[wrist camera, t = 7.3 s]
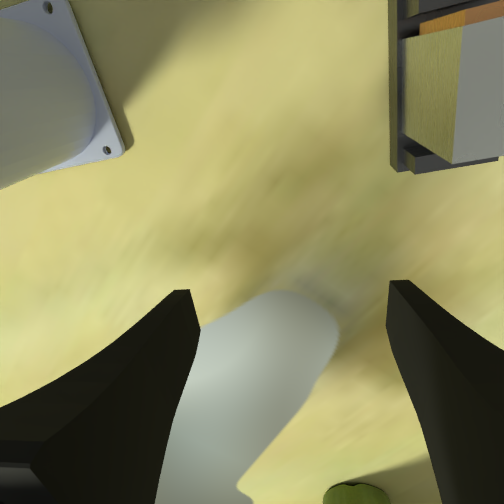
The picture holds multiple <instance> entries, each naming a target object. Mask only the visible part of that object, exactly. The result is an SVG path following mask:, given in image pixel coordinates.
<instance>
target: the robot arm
mask: <svg viewBox="0 0 504 504" xmlns="http://www.w3.org/2000/svg"><path fill="white" fill-rule="evenodd" d="M49 3H51V5H52V7H53V12H52V13H51V14H50V12H49V11H48V4H49ZM106 146H108V147H109V148H110V149H111V153H108V152H107V150H106ZM124 153H125V146H124V143H123V141H122V138H121V135H120V133H119V130H118V128H117V125H116V122H115V120H114V117H113V115H112V112H111V110H110V107H109V104H108V102H107V99H106V97H105V94H104V91H103V89H102V86H101V84H100V81H99V79H98V76H97V73H96V71H95V68H94V66H93V63H92V60H91V58H90V55H89V53H88V50H87V47H86V45H85V42H84V40H83V37H82V35H81V32H80V29H79V27H78V24H77V22H76V19H75V16H74V14H73V11H72V9H71V6H70V4H69V2H68V0H28V1H25V2H22V3H19V4H16V5H13V6H10V7H7V8H4V9H1V10H0V190H1V189H3V188H6V187H8V186H10V185H13V184H15V183H17V182H19V181H22V180H24V179H26V178H29V177H31V176H33V175H36V174H40V173H45V172H49V171H54V170H59V169H64V168H68V167H73V166H78V165H83V164H88V163H92V162H97V161H102V160H107V159H111V158H116V157H119V156H121V155H123V154H124ZM386 329H387V333H388V337H389V341H390V345H391V349H392V353H393V355H394V358H395V360H396V363H397V365H398V368H399V371H400V373H401V376H402V378H403V381H404V383H405V386H406V388H407V391H408V393H409V396H410V398H411V401H412V403H413V406H414V408H415V411H416V413H417V416H418V419H419V422H420V425H421V428H422V431H423V434H424V438H425V441H426V445H427V448H428V452H429V455H430V459H431V462H432V466H433V470H434V473H435V477H436V481H437V485H438V488H439V492H440V496H441V500H442V504H504V350H502V349H500V348H499V347H497V346H495V345H494V344H492V343H491V342H489V341H488V340H486V339H484V338H483V337H482V336H480V335H479V334H477V333H476V332H474V331H473V330H472V329H470V328H469V327H467V326H466V325H464V324H463V323H462V322H460V321H459V320H458V319H456V318H455V317H454V316H452V315H451V314H450V313H449V312H447V311H446V310H445V309H443V308H442V307H441V306H440V305H438V304H437V303H436V302H435V301H434V300H432V299H431V298H430V297H429V296H428V295H426V294H425V293H424V292H423V291H422V290H420V289H419V288H418V287H417V286H416V285H414V284H413V283H412V282H411V281H410V280H392V281H390V284H389V295H388V306H387V317H386ZM200 331H201V329H200V326H199V322H198V318H197V315H196V311H195V307H194V304H193V300H192V296H191V293H190V289H186V290H174V291H173V292H171V293H170V294H169V295H168V296H167V297H165V298H164V299H163V300H162V301H161V302H160V303H159V304H158V305H156V306H155V307H154V308H153V309H152V310H151V311H150V312H149V313H147V314H146V315H145V316H144V317H143V318H142V319H141V320H139V321H138V322H137V323H136V324H135V325H134V326H132V327H131V328H130V329H129V330H127V331H126V332H125V333H124V334H122V335H121V336H120V337H119V338H118V339H116V340H115V341H114V342H113V343H111V344H110V345H109V346H107V347H106V348H104V349H103V350H102V351H100V352H99V353H97V354H96V355H94V356H93V357H91V358H90V359H89V360H87V361H86V362H84V363H82V364H81V365H79V366H78V367H76V368H74V369H73V370H71V371H69V372H68V373H66V374H64V375H63V376H61V377H59V378H58V379H56V380H54V381H52V382H51V383H49V384H47V385H45V386H43V387H41V388H39V389H38V390H36V391H34V392H32V393H30V394H28V395H26V396H24V397H22V398H20V399H18V400H16V401H14V402H11V403H9V404H7V405H5V406H3V407H0V504H154V503H155V498H156V493H157V488H158V483H159V478H160V474H161V469H162V464H163V460H164V455H165V451H166V447H167V442H168V439H169V435H170V430H171V426H172V422H173V418H174V416H175V412H176V409H177V406H178V404H179V401H180V397H181V395H182V392H183V389H184V386H185V384H186V381H187V378H188V375H189V372H190V370H191V367H192V364H193V361H194V358H195V355H196V351H197V346H198V342H199V336H200Z"/></svg>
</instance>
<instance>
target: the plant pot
mask: <svg viewBox="0 0 504 504" xmlns="http://www.w3.org/2000/svg"><path fill="white" fill-rule="evenodd" d="M323 504H391V503H390V500H389V498H388V496H387V495H386V494H385V493H384V492H383V491H382V490H380V489H378V488H376V487H373V486H370V485H367V484H358V485H356V486H348V485H345V484H343V485H338V486H335V487H333V488H331V489H330V490H328V491H327V492H326V493H325V495H324V497H323Z"/></svg>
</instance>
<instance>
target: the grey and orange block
mask: <svg viewBox="0 0 504 504" xmlns="http://www.w3.org/2000/svg"><path fill="white" fill-rule="evenodd" d="M402 133H403V134H405V135H407V136H408V137H410V138H411V139H413V140H415V141H416V142H418V143H419V144H421V145H422V146H424V147H426V148H427V149H429V150H430V151H432V152H434V153H435V154H437V155H438V156H440V157H441V158H443V159H445V160H446V161H448V162H449V163H451V164H456V163H462V162H468V161H474V160H480V159H486V158H492V157H498V156H504V0H501V1H497V2H493V3H489V4H485V5H481V6H477V7H473V8H469V9H465V10H462V11H459V12H456V13H452V14H449V15H446V16H443V17H440V18H436V19H433V20H430V21H427V22H424V23H420V34H419V35H418V36H414V37H410V38H406V39H402Z"/></svg>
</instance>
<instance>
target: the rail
mask: <svg viewBox="0 0 504 504" xmlns="http://www.w3.org/2000/svg"><path fill="white" fill-rule="evenodd" d="M497 1H500V0H388V36H389V117H390V165H391V166H392V167H393V169H394V170H395V171H396V172H403V171H409V170H410V171H411V172H413V173H414V174H421V173H427V172H433V171H439V170H445V169H451V168H457V167H463V166H469V165H475V164H481V163H487V162H493V161H498V158H499V156H498V157H492V158H486V159H480V160H474V161H468V162H462V163H456V164H451V163H449V162H448V161H446V160H445V159H443V158H441V157H440V156H438V155H437V154H435V153H434V152H432V151H430V150H429V149H427V148H426V147H424V146H422V145H421V144H419V143H418V142H416V141H415V140H413V139H411V138H410V137H408V136H407V135H405V134H403V133H402V39H406V38H410V37H414V36H418V35H419V34H420V23H424V22H427V21H430V20H433V19H436V18H440V17H443V16H446V15H449V14H452V13H456V12H459V11H462V10H465V9H469V8H473V7H477V6H481V5H485V4H489V3H493V2H497Z"/></svg>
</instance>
